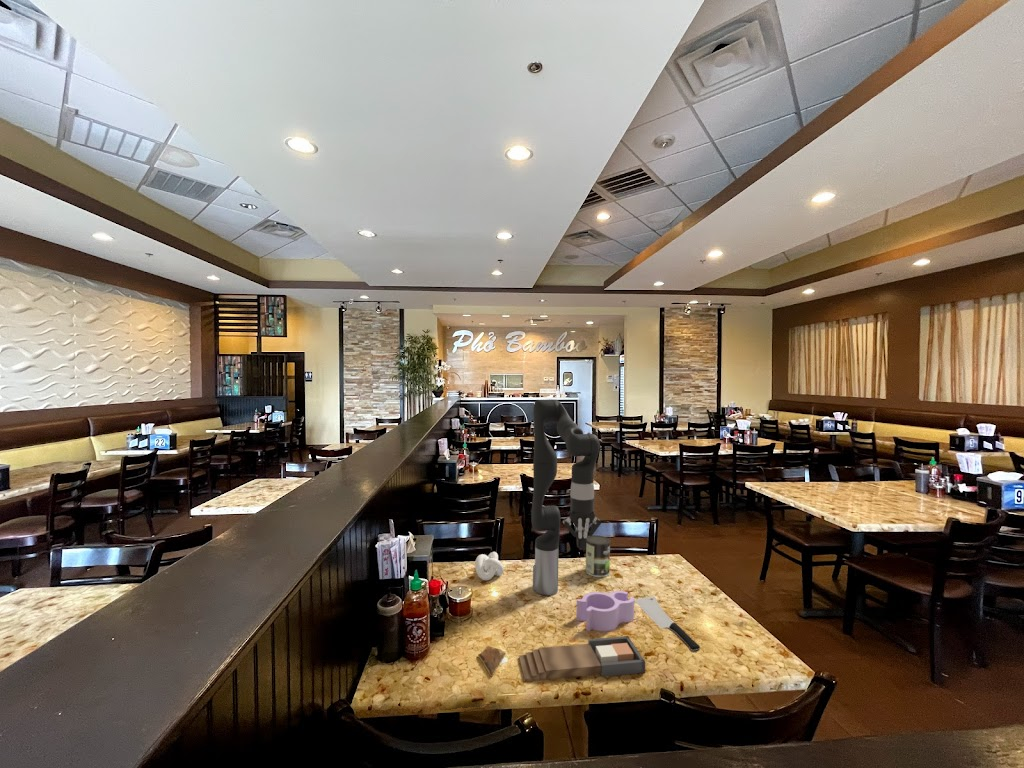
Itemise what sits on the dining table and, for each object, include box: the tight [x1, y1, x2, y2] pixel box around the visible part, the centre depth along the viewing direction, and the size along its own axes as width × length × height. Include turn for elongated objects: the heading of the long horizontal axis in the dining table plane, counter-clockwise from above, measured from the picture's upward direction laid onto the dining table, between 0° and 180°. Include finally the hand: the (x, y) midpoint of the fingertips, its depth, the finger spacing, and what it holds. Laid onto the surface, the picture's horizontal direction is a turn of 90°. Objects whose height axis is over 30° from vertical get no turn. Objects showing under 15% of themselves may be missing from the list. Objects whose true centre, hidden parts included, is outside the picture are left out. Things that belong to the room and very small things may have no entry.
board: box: [538, 643, 601, 680], centre depth 126 cm, size 16×10×2 cm, turn 98°
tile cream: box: [596, 645, 618, 665], centre depth 127 cm, size 5×5×3 cm
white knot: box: [474, 551, 505, 582], centre depth 181 cm, size 11×12×9 cm
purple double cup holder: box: [576, 590, 635, 632], centre depth 150 cm, size 20×12×7 cm, turn 111°
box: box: [587, 635, 646, 678], centre depth 128 cm, size 13×12×3 cm
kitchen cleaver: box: [634, 595, 701, 652], centre depth 148 cm, size 31×2×10 cm
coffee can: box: [585, 534, 611, 578], centre depth 185 cm, size 10×10×14 cm
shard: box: [477, 645, 507, 678], centre depth 127 cm, size 11×8×2 cm
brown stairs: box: [518, 648, 547, 682], centre depth 124 cm, size 6×10×2 cm, turn 8°
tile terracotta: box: [611, 643, 634, 662], centre depth 128 cm, size 5×5×3 cm
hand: (581, 548), depth 139 cm, fingers closed
